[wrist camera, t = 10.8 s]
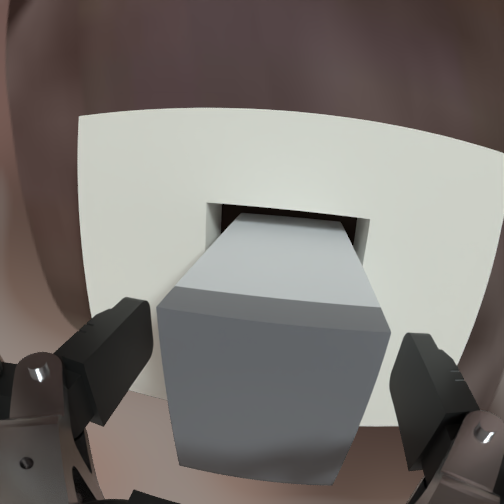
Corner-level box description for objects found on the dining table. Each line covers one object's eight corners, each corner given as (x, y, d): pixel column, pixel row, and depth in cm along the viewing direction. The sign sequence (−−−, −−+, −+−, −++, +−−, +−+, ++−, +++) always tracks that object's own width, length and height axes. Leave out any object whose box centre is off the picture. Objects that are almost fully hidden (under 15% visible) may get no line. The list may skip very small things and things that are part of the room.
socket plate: (483, 152, 12) (511, 155, 9) (417, 395, 16) (426, 424, 14) (109, 118, 14) (78, 116, 11) (125, 359, 18) (106, 383, 16)
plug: (340, 221, 14) (391, 332, 5) (324, 328, 16) (331, 485, 7) (241, 212, 14) (155, 306, 6) (237, 319, 16) (179, 465, 8)
